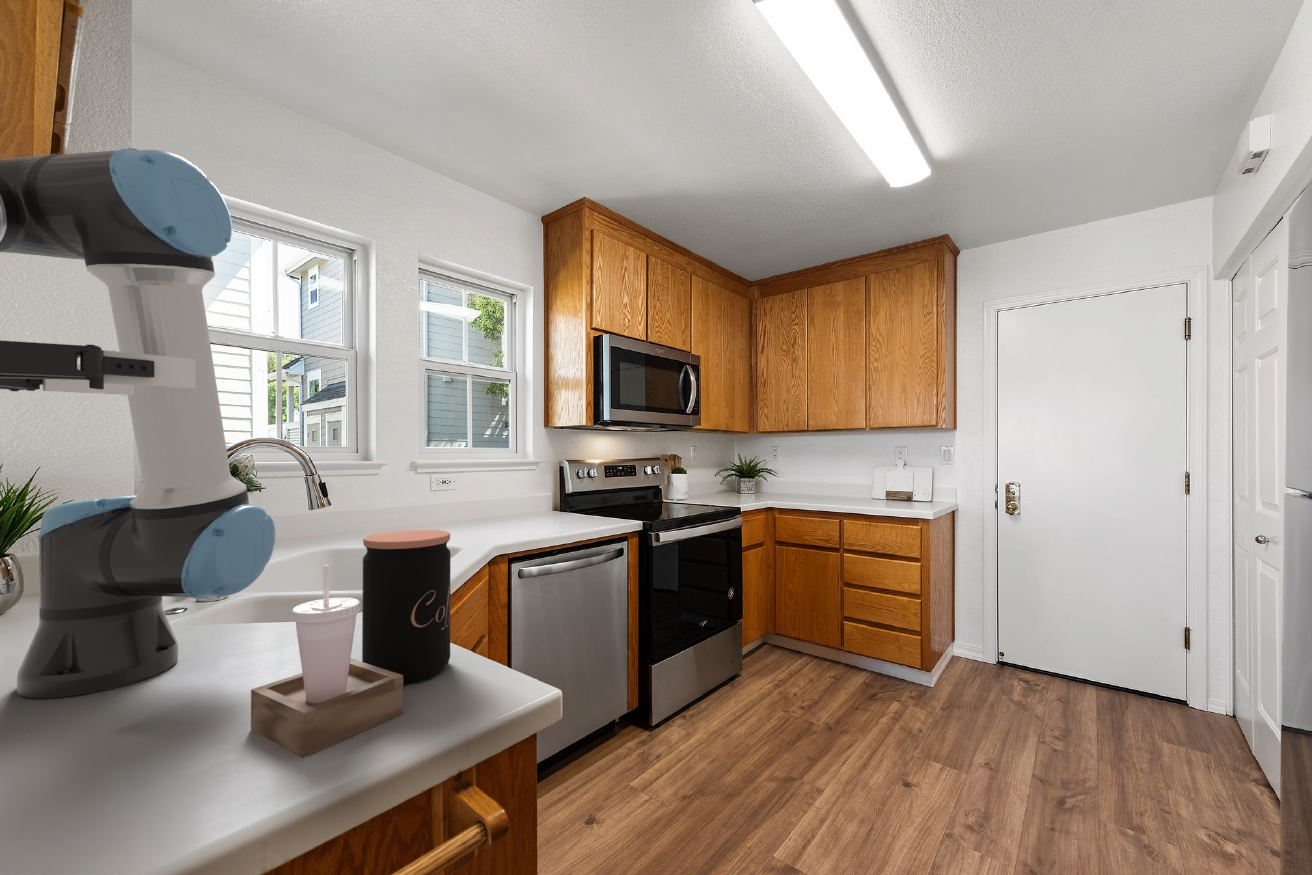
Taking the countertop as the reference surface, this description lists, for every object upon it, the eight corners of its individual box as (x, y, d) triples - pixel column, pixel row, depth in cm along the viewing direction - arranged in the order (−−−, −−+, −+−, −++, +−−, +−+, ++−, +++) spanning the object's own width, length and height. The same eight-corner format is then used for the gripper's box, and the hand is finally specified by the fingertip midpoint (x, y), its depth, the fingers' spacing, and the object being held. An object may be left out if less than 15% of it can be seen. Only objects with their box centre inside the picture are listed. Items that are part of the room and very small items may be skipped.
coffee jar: (419, 691, 69) (419, 542, 69) (342, 685, 71) (343, 540, 71) (465, 659, 79) (465, 530, 80) (397, 654, 81) (398, 528, 82)
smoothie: (285, 713, 57) (286, 573, 57) (296, 689, 62) (297, 561, 63) (357, 702, 59) (358, 567, 59) (362, 679, 65) (362, 556, 65)
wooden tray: (250, 729, 60) (251, 689, 60) (348, 692, 68) (349, 657, 69) (304, 757, 54) (304, 712, 54) (403, 713, 63) (403, 675, 63)
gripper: (-254, 411, 44) (111, 418, 62) (-215, 398, 32) (224, 412, 50) (-254, 314, 44) (110, 350, 62) (-216, 264, 32) (223, 327, 50)
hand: (162, 378), depth 56 cm, fingers open, 13 cm apart
